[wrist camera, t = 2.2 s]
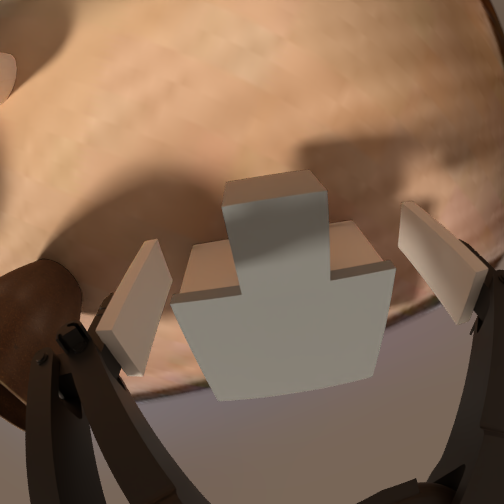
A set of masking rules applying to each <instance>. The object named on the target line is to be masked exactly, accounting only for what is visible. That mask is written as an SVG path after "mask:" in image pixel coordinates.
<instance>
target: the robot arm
mask: <svg viewBox="0 0 504 504" xmlns="http://www.w3.org/2000/svg"><path fill="white" fill-rule="evenodd" d="M398 247H399V249H400V250H401V251H402V252H403V253H404V255H405V256H406V257H407V258H408V260H409V261H410V262H411V263H412V265H413V266H414V267H415V268H416V270H417V271H418V272H419V274H420V275H421V276H422V277H423V279H424V280H425V281H426V283H427V284H428V285H429V287H430V288H431V289H432V291H433V292H434V293H435V295H436V296H437V298H438V299H439V300H440V302H441V303H442V305H443V306H444V307H445V309H446V310H447V312H448V313H449V315H450V316H451V318H452V319H453V320H454V322H455V324H456V325H460V324H462V323H465V322H468V321H469V320H470V318H471V315H472V313H473V311H475V313H476V314H477V315H478V316H477V318H476V321H475V323H474V325H473V327H472V329H471V331H470V335H472V333H473V331H474V335H473V342H472V349H471V355H470V361H469V367H468V372H467V376H466V381H465V386H464V389H463V394H462V398H461V402H460V405H459V409H458V412H457V415H456V419H455V422H454V425H453V428H452V431H451V434H450V437H449V440H448V443H447V445H446V448H445V451H444V453H443V455H442V458H441V460H440V461H439V463H438V464H437V466H436V467H435V468H434V470H433V471H432V473H431V475H430V476H429V478H428V480H427V482H420V483H417V480H416V478H415V479H413V480H410V481H408V482H405V483H402V484H399V485H396V486H394V487H391V488H387V489H384V490H382V491H380V492H378V493H376V494H374V495H373V496H371V497H369V498H367V499H365V500H363V501H361V502H359V503H357V504H504V270H495V269H494V268H493V267H492V266H491V265H490V264H489V263H488V262H487V261H486V260H485V259H484V258H483V257H482V256H480V254H478V253H477V252H476V251H475V250H474V249H473V248H472V247H471V246H470V245H469V244H467V243H466V242H464V241H462V240H460V239H457V238H456V237H455V236H454V235H453V234H452V233H451V232H450V231H448V230H447V229H446V228H445V227H444V226H443V225H442V224H440V223H439V222H438V221H437V220H436V219H434V218H433V217H432V216H431V215H430V214H428V213H427V212H426V211H425V210H423V209H422V208H421V207H420V206H418V205H417V204H416V203H415V202H413V201H409V202H401V216H400V229H399V239H398ZM172 282H173V280H172V277H171V275H170V272H169V270H168V267H167V264H166V261H165V259H164V256H163V253H162V250H161V248H160V245H159V242H158V239H153V240H148V241H144V243H143V245H142V246H141V248H140V250H139V251H138V253H137V255H136V256H135V258H134V260H133V261H132V263H131V265H130V267H129V268H128V270H127V272H126V273H125V275H124V277H123V279H122V281H121V282H120V284H119V286H118V288H117V290H116V291H115V293H111V294H110V295H109V296H108V297H107V298H106V299H105V300H104V301H103V303H102V305H101V306H100V310H98V312H97V314H96V316H95V318H94V320H93V321H92V323H91V325H90V327H89V329H88V331H86V329H85V328H84V326H83V325H82V323H81V322H80V321H77V320H74V321H70V322H68V323H66V324H65V325H63V326H62V327H61V328H60V329H59V330H58V332H57V334H56V339H55V340H56V341H57V343H58V344H59V345H60V347H61V348H62V349H63V351H64V353H61V354H57V355H56V354H55V353H54V352H53V350H52V349H51V348H49V347H45V348H42V349H40V350H39V351H37V352H36V353H35V355H34V357H33V358H32V361H31V366H30V374H29V382H28V392H27V405H26V433H25V434H26V436H25V437H26V439H25V440H26V467H27V478H28V487H29V495H30V502H31V504H106V501H105V497H104V494H103V490H102V486H101V482H100V478H99V474H98V470H97V465H96V461H95V455H94V450H93V444H92V439H91V433H90V426H91V429H92V431H93V434H94V436H95V438H96V441H97V443H98V445H99V447H100V449H101V452H102V453H103V456H104V458H105V460H106V462H107V464H108V466H109V468H110V470H111V472H112V474H113V475H114V477H115V479H116V481H117V483H118V484H119V486H120V488H121V490H122V491H123V493H124V495H125V496H126V498H127V500H128V501H129V503H130V504H211V503H210V502H209V501H207V499H206V498H205V497H204V496H203V495H202V494H201V493H200V492H199V491H198V489H197V488H196V487H195V486H194V485H193V483H192V482H191V481H190V480H189V479H188V477H187V476H186V475H185V474H184V472H183V471H182V470H181V469H180V467H179V466H178V465H177V463H176V462H175V461H174V459H173V458H172V457H171V455H170V454H169V453H168V451H167V450H166V449H165V447H164V446H163V444H162V443H161V441H160V440H159V439H158V437H157V436H156V434H155V433H154V431H153V430H152V428H151V427H150V425H149V424H148V422H147V421H146V419H145V417H144V416H143V414H142V412H141V411H140V409H139V408H138V406H137V404H136V403H135V401H134V399H133V397H132V396H131V394H130V392H129V390H128V389H127V387H126V385H125V383H124V381H123V380H122V378H121V377H120V376H119V373H120V370H121V368H122V369H123V371H124V372H125V373H126V374H127V376H143V375H144V372H145V368H146V365H147V361H148V358H149V354H150V351H151V347H152V344H153V341H154V337H155V334H156V331H157V327H158V324H159V321H160V318H161V315H162V312H163V309H164V305H165V302H166V299H167V296H168V293H169V290H170V287H171V284H172ZM89 424H90V425H89Z"/></svg>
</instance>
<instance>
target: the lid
mask: <svg viewBox="0 0 504 504" xmlns="http://www.w3.org/2000/svg"><path fill="white" fill-rule="evenodd" d="M221 208H222V212H223V216H224V221H225V225H226V230H227V234H228V238H229V242H230V247H231V251H232V255H233V260H234V264H235V268H236V272H237V276H238V281H239V285H237V286H230V287H223V288H216V289H209V290H201V291H194V292H186V293H178V294H173V295H172V299H171V302H170V305H171V308H172V310H173V312H174V314H175V317H176V319H177V321H178V323H179V325H180V327H181V330H182V332H183V334H184V336H185V338H186V340H187V342H188V344H189V346H190V348H191V350H192V352H193V354H194V356H195V358H196V360H197V362H198V364H199V366H200V368H201V370H202V372H203V374H204V376H205V378H206V380H207V382H208V383H209V385H210V387H211V389H212V391H213V393H214V394H215V396H216V398H217V400H218V401H229V400H242V399H252V398H262V397H270V396H278V395H285V394H292V393H298V392H305V391H310V390H316V389H321V388H326V387H331V386H336V385H340V384H345V383H349V382H354V381H357V380H362V379H365V378H370V377H372V376H373V372H374V369H375V365H376V362H377V358H378V354H379V350H380V346H381V342H382V339H383V334H384V330H385V326H386V321H387V316H388V312H389V307H390V301H391V296H392V290H393V284H394V278H395V272H396V267H395V266H394V265H393V263H392V262H391V261H390V260H386V261H381V262H376V263H371V264H365V265H360V266H354V267H349V268H343V269H337V270H332V271H330V236H329V211H328V194H327V190H326V189H325V187H324V186H323V185H322V184H321V183H320V181H319V180H318V179H317V178H316V177H315V176H314V174H313V173H312V172H311V171H310V170H309V169H308V170H300V171H293V172H285V173H278V174H272V175H265V176H259V177H253V178H246V179H241V180H235V181H229V182H226V185H225V190H224V195H223V201H222V206H221Z"/></svg>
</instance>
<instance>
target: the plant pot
mask: <svg viewBox="0 0 504 504" xmlns="http://www.w3.org/2000/svg"><path fill="white" fill-rule="evenodd" d="M81 302H82V295H81V291H80V288H79V286H78V284H77V282H76V280H75V279H74V277H73V276H72V275H71V274H70V273H69V271H68V270H66V269H65V268H64V267H63V266H61V265H60V264H58V263H56V262H54V261H52V260H48V259H42V260H39V261H36V262H33V263H30V264H27V265H25V266H22V267H20V268H18V269H15V270H13V271H11V272H9V273H7V274H5V275H3V276H1V277H0V417H2V418H3V419H5V420H6V421H8V422H9V423H11V424H12V425H14V426H16V427H17V428H19V429H21V430H23V431H25V432H26V405H27V392H28V382H29V374H30V366H31V361H32V358H33V357H34V355H35V353H36V352H37V351H39V350H40V349H42V348H45V347H49V348H51V349H52V350H53V352H54V353H55V354H56V355H57V354H61V353H64V351H63V349H62V348H61V347H60V345H59V344H58V343H57V341H56V340H55V339H56V334H57V332H58V330H59V329H60V328H61V327H62V326H63V325H65V324H66V323H68V322H70V321H74V320H77V321H80V312H81Z"/></svg>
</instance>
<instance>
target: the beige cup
mask: <svg viewBox="0 0 504 504" xmlns="http://www.w3.org/2000/svg"><path fill="white" fill-rule="evenodd" d="M16 72H17V66H16V60H15V58H14V57H13V56H12V54H8V53H1V52H0V105H1V104H2V103H3V102H4V101H5V100H6V99H7V98H8V96H9V95H10V93H11V91H12V89H13V86H14V83H15V80H16Z"/></svg>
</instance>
